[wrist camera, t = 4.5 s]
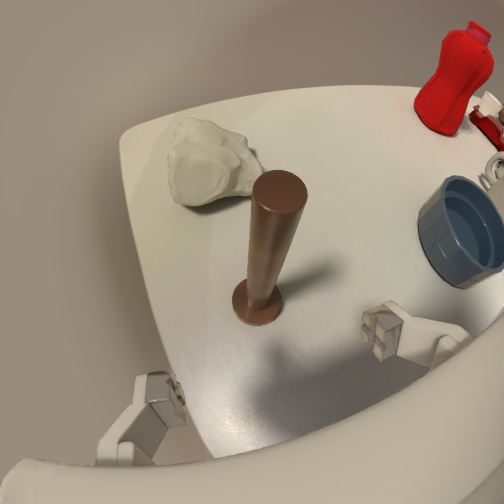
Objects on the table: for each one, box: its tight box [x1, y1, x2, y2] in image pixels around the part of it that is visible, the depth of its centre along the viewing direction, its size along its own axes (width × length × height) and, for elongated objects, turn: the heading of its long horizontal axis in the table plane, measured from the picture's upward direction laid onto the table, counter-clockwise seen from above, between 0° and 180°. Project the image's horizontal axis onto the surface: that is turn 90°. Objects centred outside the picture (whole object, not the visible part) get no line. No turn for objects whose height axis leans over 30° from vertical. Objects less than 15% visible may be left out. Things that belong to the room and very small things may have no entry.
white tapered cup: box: [479, 91, 503, 117], centre depth 44 cm, size 7×7×7 cm
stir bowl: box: [418, 175, 504, 289], centre depth 26 cm, size 13×13×6 cm
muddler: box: [232, 170, 308, 326], centre depth 17 cm, size 4×4×17 cm
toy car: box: [469, 105, 504, 152], centre depth 40 cm, size 14×6×5 cm, turn 33°
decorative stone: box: [168, 118, 263, 206], centre depth 28 cm, size 11×9×10 cm
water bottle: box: [414, 21, 494, 135], centre depth 29 cm, size 9×11×25 cm
